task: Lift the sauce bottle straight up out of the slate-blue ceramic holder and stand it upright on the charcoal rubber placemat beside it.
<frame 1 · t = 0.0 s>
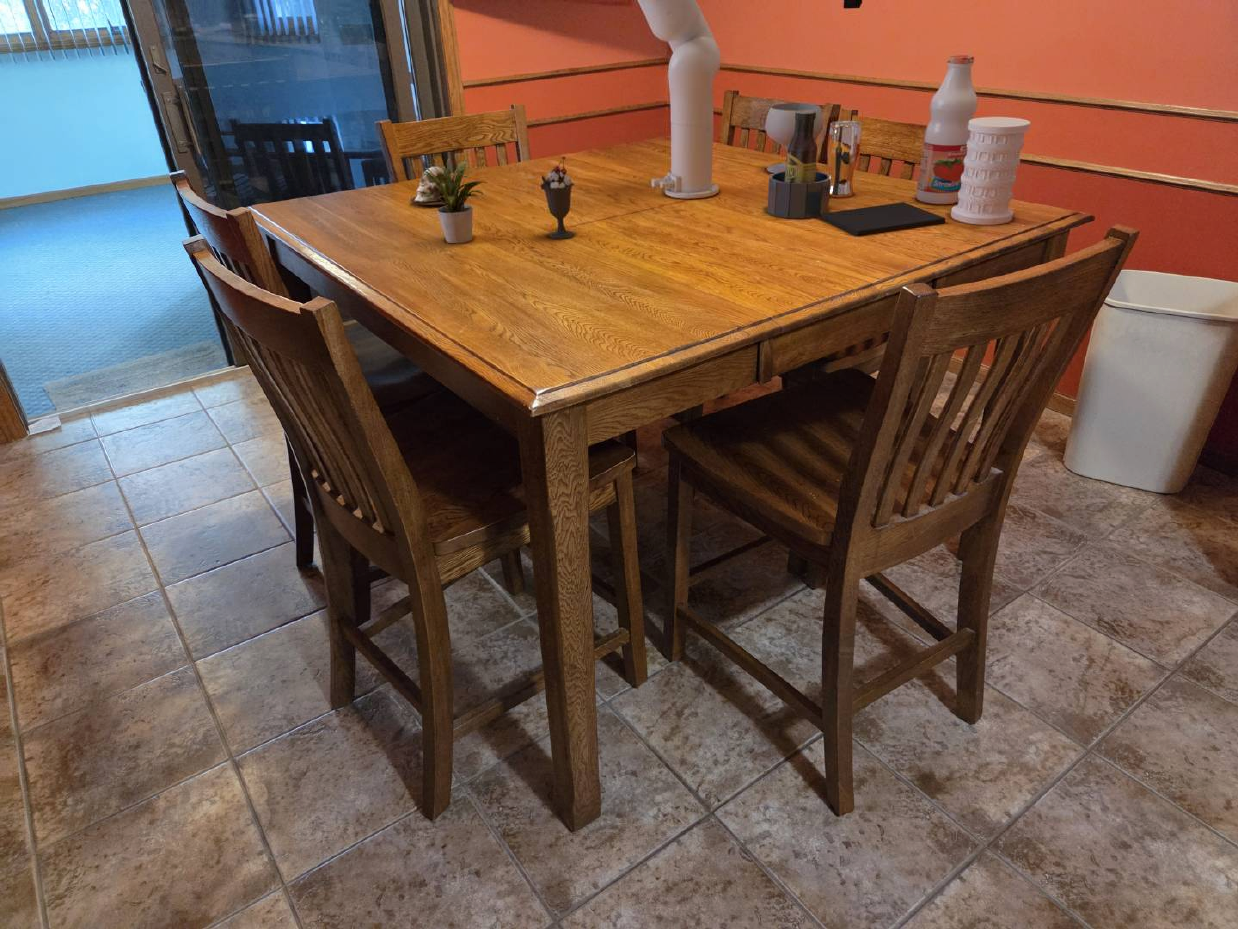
hand: (852, 6, 163), 37 cm above the table, tool pointing down, fingers open, 9 cm apart
fruit juice: (937, 200, 177), on the table
skull: (436, 202, 194), on the table
sauce bottle: (797, 211, 174), resting in holder
holder: (797, 210, 174), on the table
placemat: (880, 220, 165), on the table
house plant: (454, 242, 165), on the table
chalice: (790, 171, 206), on the table
decorative container: (980, 217, 165), on the table
sundae: (561, 236, 166), on the table
beer glass: (838, 194, 184), on the table
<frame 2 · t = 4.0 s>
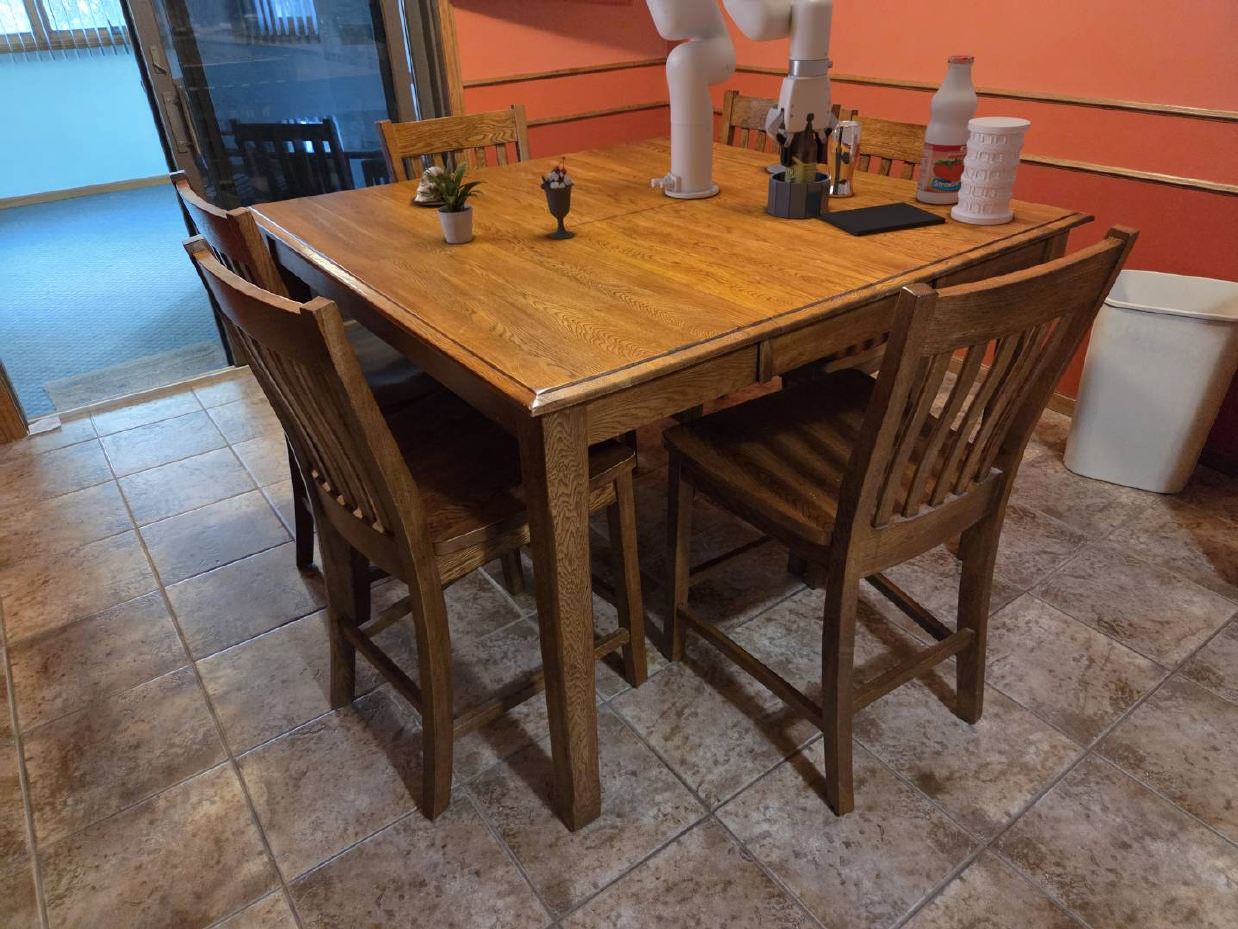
hand: (800, 163, 169), 10 cm above the table, tool pointing down, fingers closed on sauce bottle, 6 cm apart
sauce bottle: (797, 211, 174), resting in holder, touching gripper
everything else where it was.
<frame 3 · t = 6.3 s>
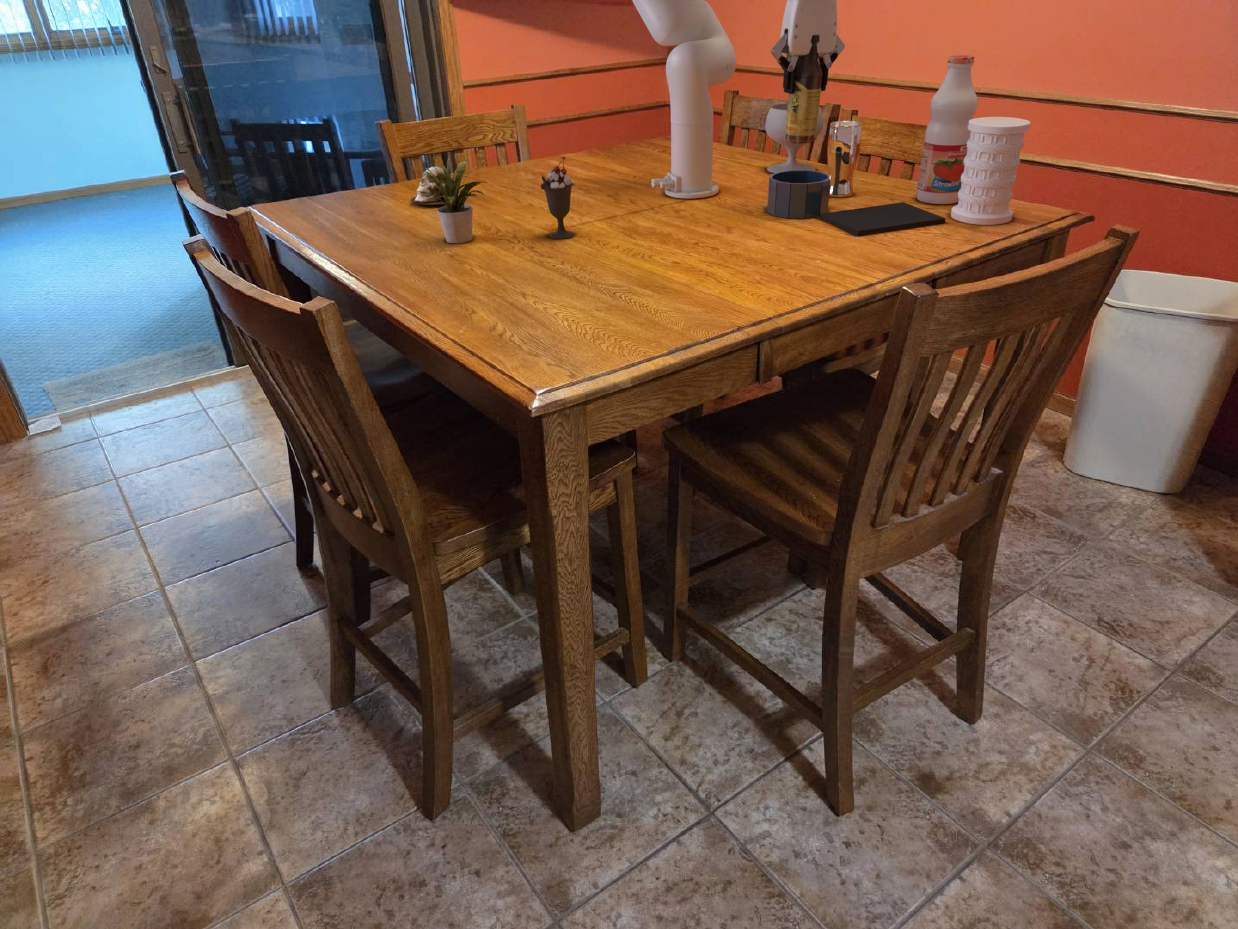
hand: (804, 90, 162), 24 cm above the table, tool pointing down, fingers closed on sauce bottle, 6 cm apart
sauce bottle: (800, 142, 167), point 14 cm above the table, touching gripper
everything else where it was.
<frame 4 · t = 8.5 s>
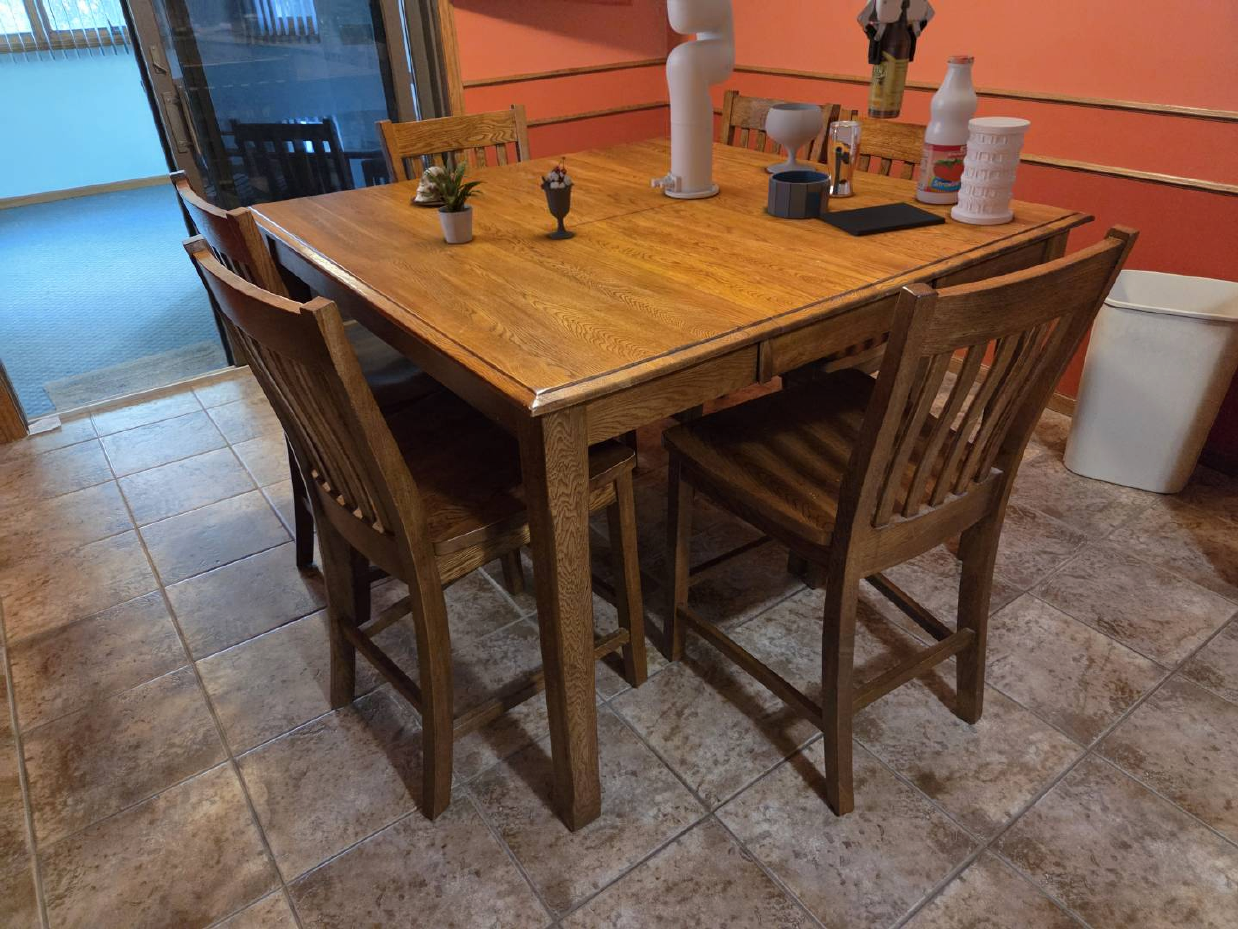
hand: (890, 61, 151), 29 cm above the table, tool pointing down, fingers closed on sauce bottle, 6 cm apart
sauce bottle: (883, 118, 156), point 19 cm above the table, touching gripper
everything else where it was.
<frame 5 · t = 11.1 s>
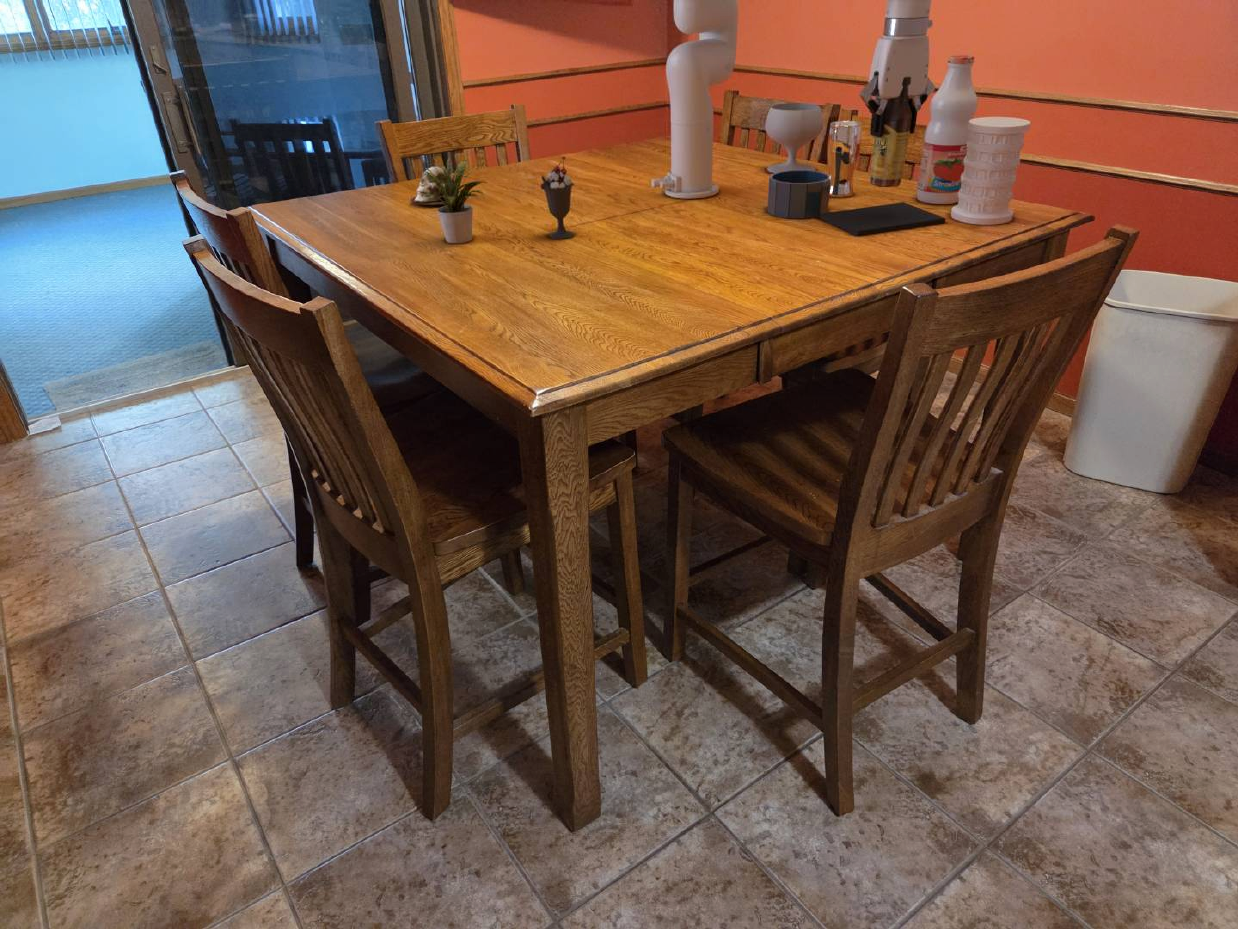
hand: (892, 133, 156), 17 cm above the table, tool pointing down, fingers closed on sauce bottle, 6 cm apart
sauce bottle: (885, 185, 161), point 7 cm above the table, touching gripper
everything else where it was.
when the fingers open (11 cm above the table, at t = 13.0 s): sauce bottle stays where it is, resting on placemat.
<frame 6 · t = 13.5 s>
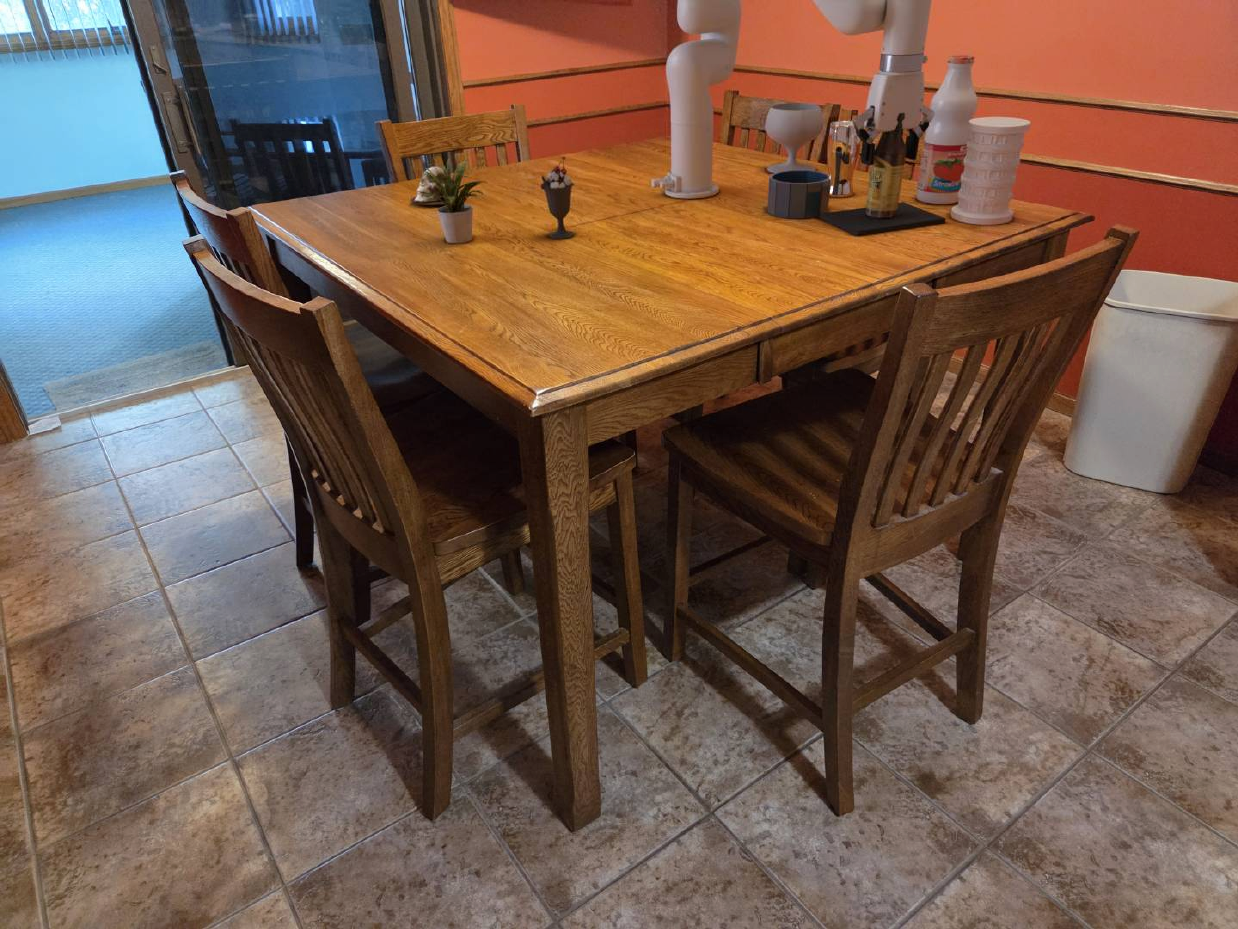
hand: (888, 161, 159), 12 cm above the table, tool pointing down, fingers open, 9 cm apart
sauce bottle: (880, 216, 165), point 1 cm above the table, touching placemat
everything else where it was.
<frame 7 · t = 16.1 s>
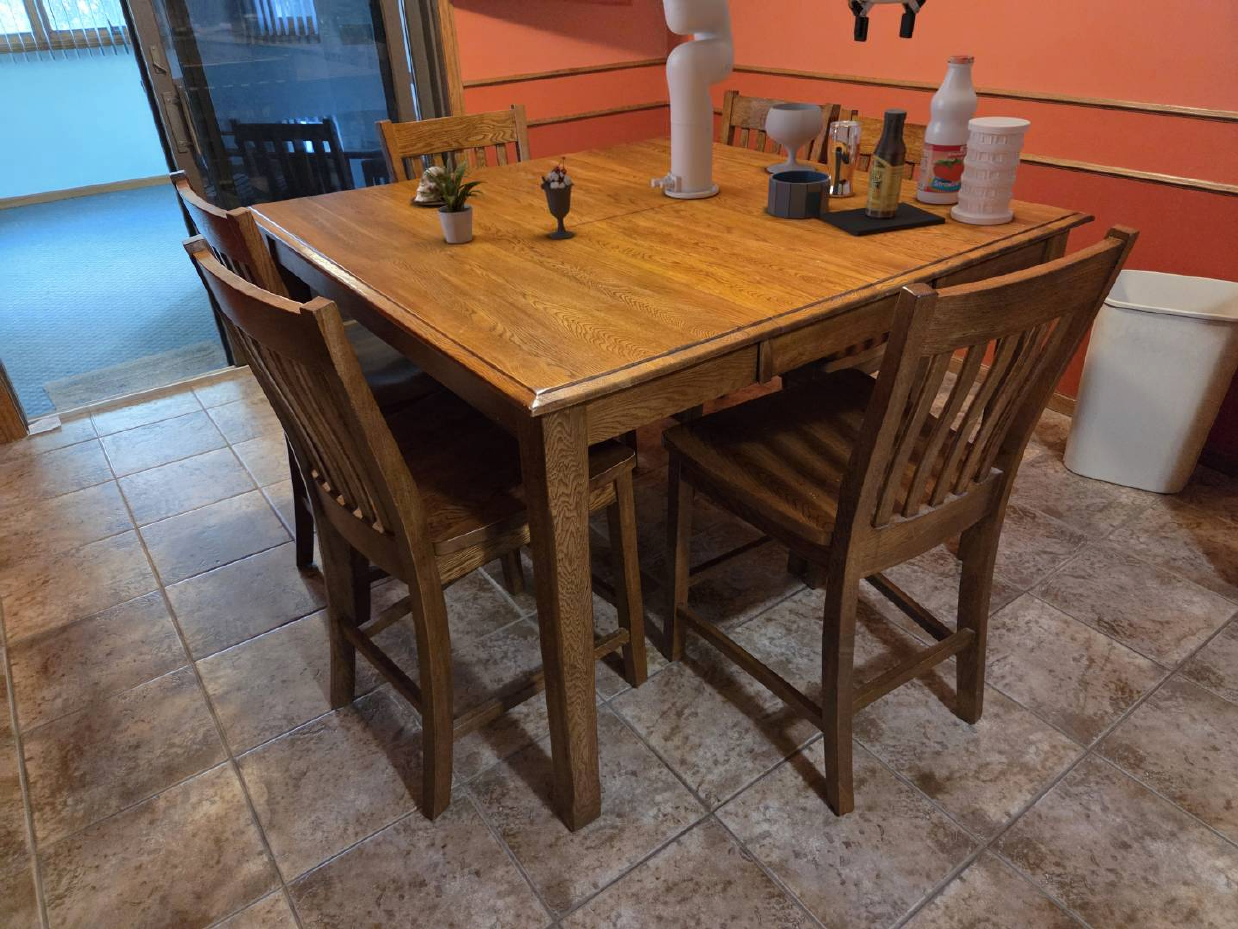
hand: (882, 39, 151), 33 cm above the table, tool pointing down, fingers open, 9 cm apart
nothing on the table moved.
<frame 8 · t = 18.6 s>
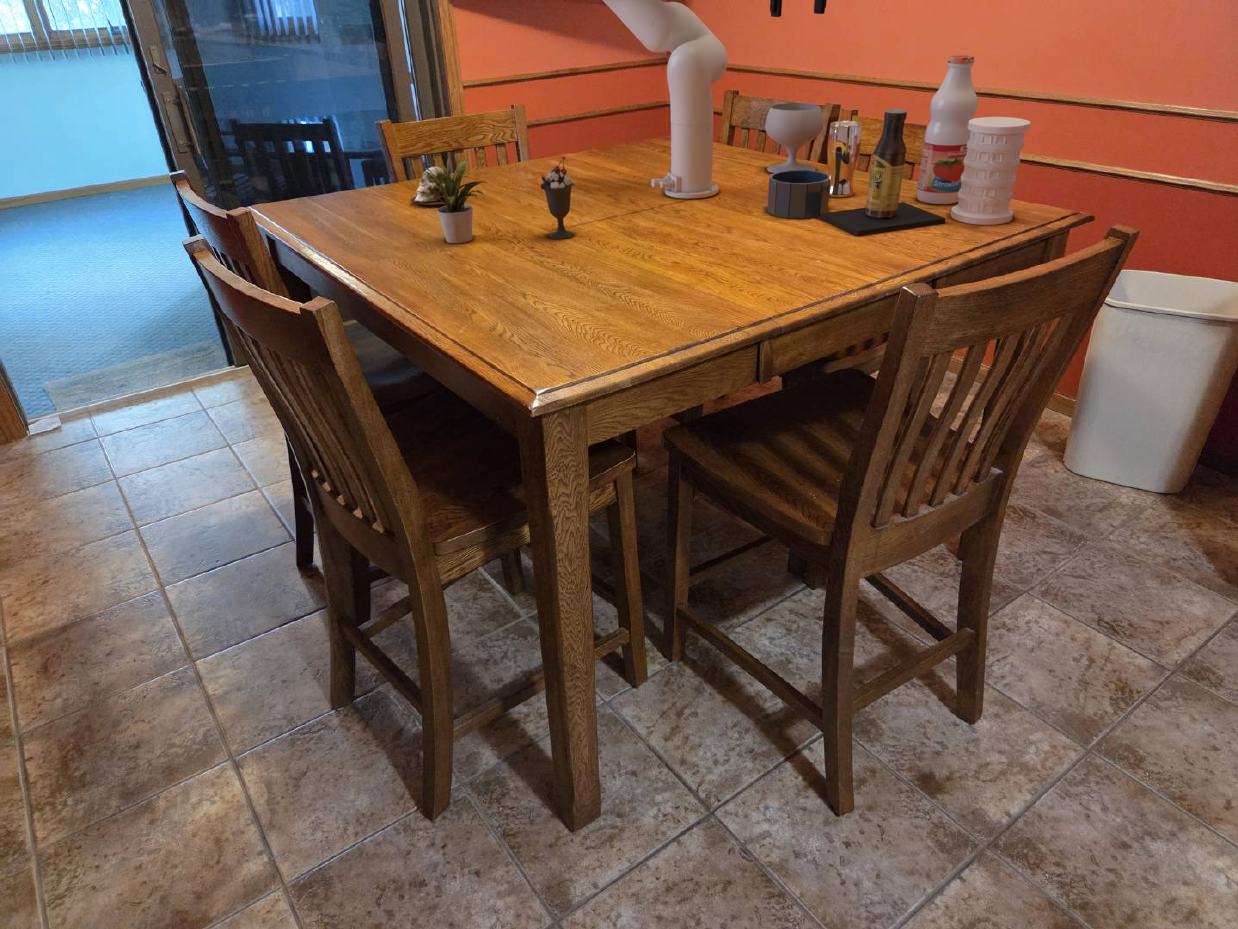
hand: (797, 15, 163), 36 cm above the table, tool pointing down, fingers open, 9 cm apart
nothing on the table moved.
at the end: sauce bottle inside the target area on the placemat (0.1 cm from its centre), point 0.8 cm above the placemat's base; sauce bottle tilted 0°; the gripper is holding nothing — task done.
